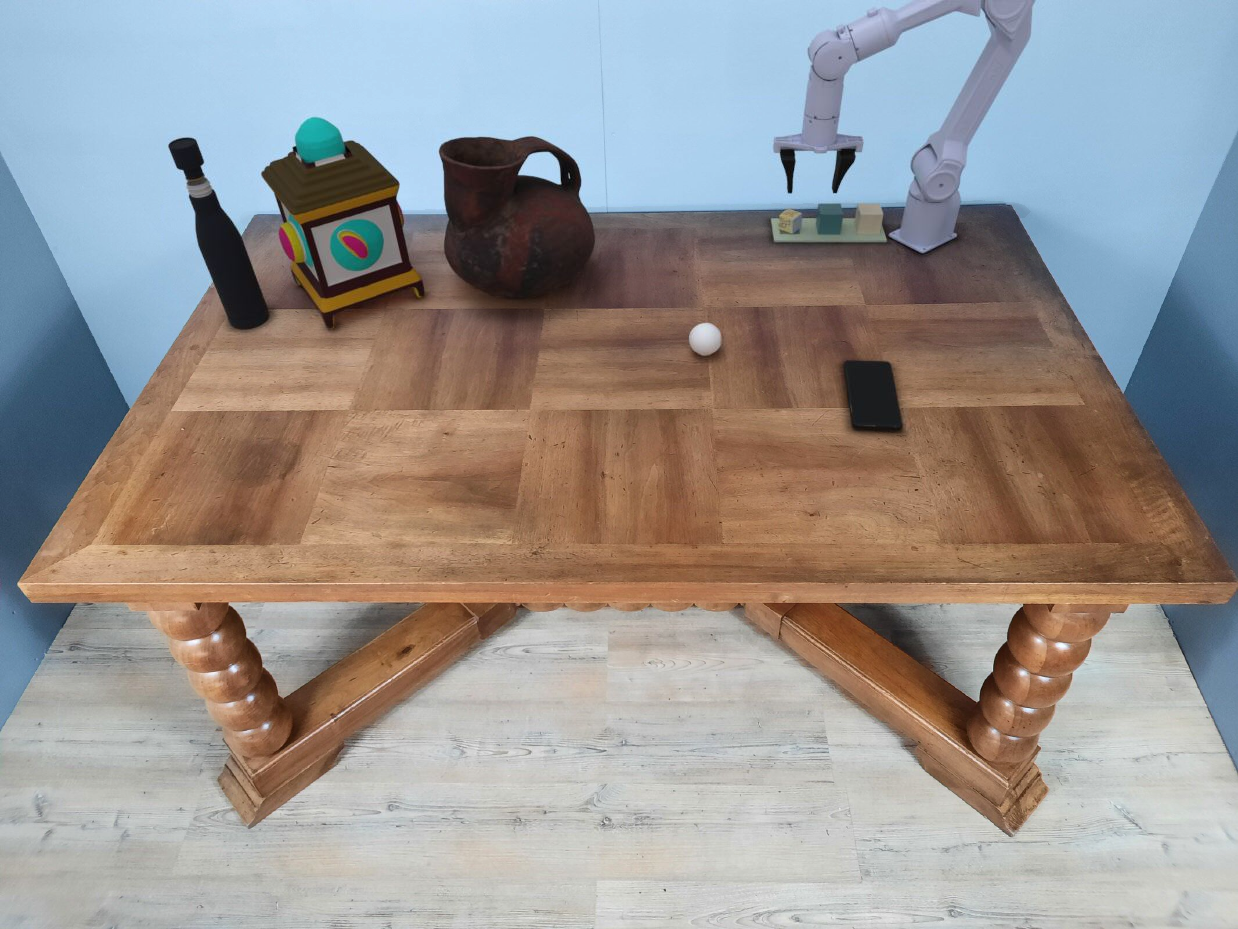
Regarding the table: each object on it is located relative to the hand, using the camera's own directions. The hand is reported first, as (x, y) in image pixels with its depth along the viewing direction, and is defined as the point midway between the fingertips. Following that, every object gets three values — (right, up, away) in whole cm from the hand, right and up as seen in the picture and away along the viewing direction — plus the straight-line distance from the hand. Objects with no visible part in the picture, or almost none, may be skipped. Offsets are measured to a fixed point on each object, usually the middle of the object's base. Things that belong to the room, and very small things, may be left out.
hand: (811, 190), depth 152 cm
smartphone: (+3, -38, -25) cm, 45 cm away
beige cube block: (+12, -4, +8) cm, 15 cm away
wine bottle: (-95, -23, -6) cm, 98 cm away
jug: (-50, -16, 0) cm, 52 cm away
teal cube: (+5, -4, +8) cm, 11 cm away
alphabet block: (-2, -4, +9) cm, 10 cm away
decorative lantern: (-78, -18, -1) cm, 80 cm away
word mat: (+5, -5, +9) cm, 11 cm away
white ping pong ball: (-20, -30, -16) cm, 40 cm away
